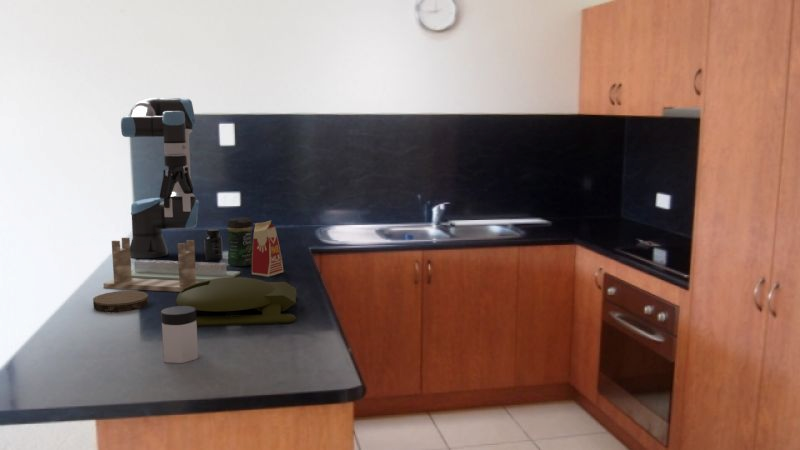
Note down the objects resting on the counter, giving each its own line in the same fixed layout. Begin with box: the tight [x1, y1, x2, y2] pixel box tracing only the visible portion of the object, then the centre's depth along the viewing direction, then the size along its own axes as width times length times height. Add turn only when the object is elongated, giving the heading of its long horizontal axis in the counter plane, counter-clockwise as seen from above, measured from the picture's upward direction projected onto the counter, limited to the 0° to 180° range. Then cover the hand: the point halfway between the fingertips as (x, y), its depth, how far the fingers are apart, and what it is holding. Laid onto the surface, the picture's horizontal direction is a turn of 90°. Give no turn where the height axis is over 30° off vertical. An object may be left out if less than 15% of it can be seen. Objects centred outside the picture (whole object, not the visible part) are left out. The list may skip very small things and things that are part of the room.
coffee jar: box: [226, 216, 254, 267], centre depth 285 cm, size 10×8×19 cm
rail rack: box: [103, 237, 200, 293], centre depth 249 cm, size 33×9×16 cm, turn 79°
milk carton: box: [251, 220, 284, 278], centre depth 270 cm, size 9×9×20 cm
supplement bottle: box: [204, 228, 224, 262], centre depth 296 cm, size 7×7×12 cm
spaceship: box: [175, 276, 297, 327], centre depth 220 cm, size 35×31×10 cm
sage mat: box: [131, 268, 241, 282], centre depth 267 cm, size 40×14×1 cm, turn 79°
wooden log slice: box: [92, 290, 150, 313], centre depth 226 cm, size 16×16×3 cm
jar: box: [160, 305, 199, 364], centre depth 178 cm, size 9×8×12 cm
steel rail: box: [134, 258, 228, 277], centre depth 267 cm, size 34×4×4 cm, turn 79°
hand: (178, 214), depth 264 cm, fingers open, 13 cm apart
